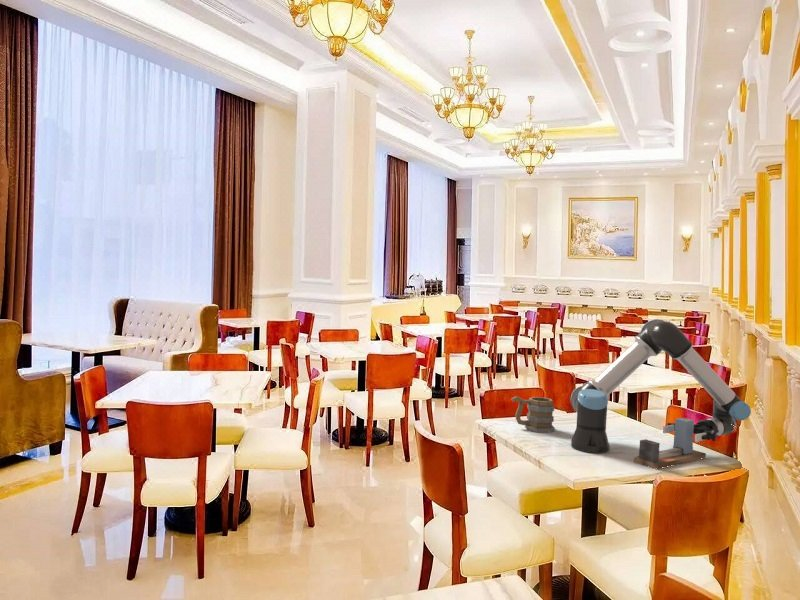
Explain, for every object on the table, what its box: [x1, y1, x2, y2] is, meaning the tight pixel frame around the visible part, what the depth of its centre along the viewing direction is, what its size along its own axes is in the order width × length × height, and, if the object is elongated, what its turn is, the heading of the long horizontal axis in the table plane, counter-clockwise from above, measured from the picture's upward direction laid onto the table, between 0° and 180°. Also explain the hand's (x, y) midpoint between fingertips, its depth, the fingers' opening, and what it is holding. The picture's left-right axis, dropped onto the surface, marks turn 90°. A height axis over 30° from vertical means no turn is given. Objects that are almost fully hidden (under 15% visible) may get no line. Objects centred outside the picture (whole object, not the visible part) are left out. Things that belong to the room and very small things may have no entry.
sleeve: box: [672, 417, 695, 454], centre depth 245 cm, size 5×5×13 cm
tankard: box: [510, 395, 556, 434], centre depth 282 cm, size 20×13×15 cm, turn 89°
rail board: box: [633, 439, 707, 470], centre depth 241 cm, size 10×32×9 cm, turn 123°
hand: (679, 433), depth 243 cm, fingers open, 13 cm apart
